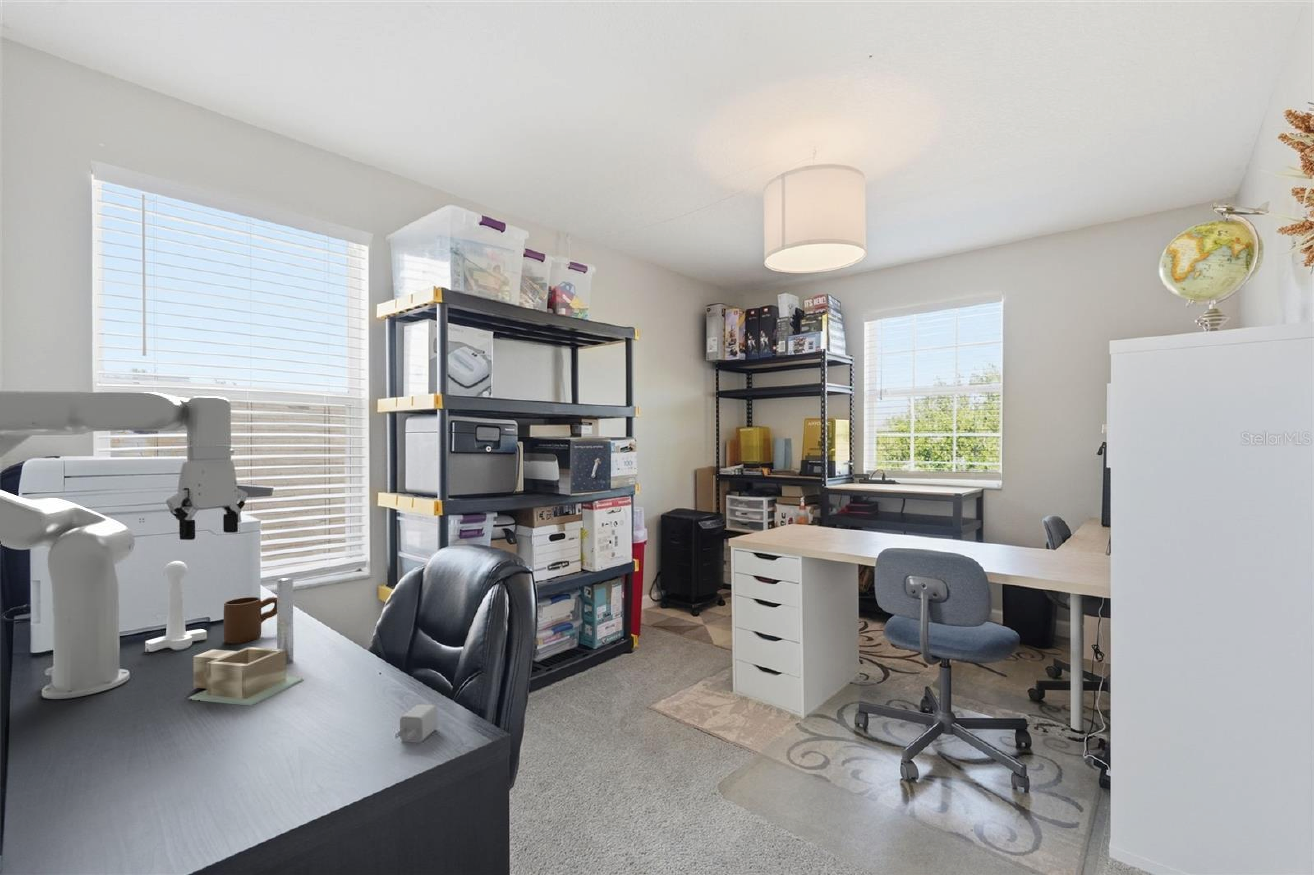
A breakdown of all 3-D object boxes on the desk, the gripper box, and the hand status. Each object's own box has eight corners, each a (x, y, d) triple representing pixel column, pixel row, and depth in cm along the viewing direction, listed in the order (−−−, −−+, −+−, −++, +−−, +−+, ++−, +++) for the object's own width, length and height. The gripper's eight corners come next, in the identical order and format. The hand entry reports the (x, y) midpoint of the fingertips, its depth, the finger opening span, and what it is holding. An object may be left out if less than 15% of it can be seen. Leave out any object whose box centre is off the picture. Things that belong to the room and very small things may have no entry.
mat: (188, 699, 112) (188, 697, 112) (245, 675, 124) (245, 673, 124) (250, 705, 109) (250, 703, 109) (303, 680, 121) (303, 678, 121)
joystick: (200, 637, 149) (199, 556, 150) (212, 642, 145) (212, 559, 145) (143, 650, 140) (142, 564, 140) (154, 656, 136) (154, 567, 136)
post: (274, 664, 130) (273, 580, 130) (285, 659, 133) (284, 577, 133) (285, 664, 130) (285, 581, 130) (296, 659, 133) (296, 578, 133)
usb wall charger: (437, 730, 99) (437, 705, 99) (413, 751, 93) (413, 725, 93) (415, 728, 100) (415, 704, 100) (390, 749, 93) (389, 723, 93)
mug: (277, 628, 156) (277, 592, 156) (285, 635, 150) (285, 597, 150) (221, 639, 147) (221, 600, 148) (226, 646, 142) (226, 606, 142)
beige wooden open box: (180, 692, 115) (180, 661, 115) (224, 674, 123) (224, 645, 123) (246, 698, 111) (246, 666, 111) (286, 680, 120) (285, 649, 120)
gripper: (231, 454, 137) (232, 529, 137) (153, 456, 120) (153, 542, 120) (259, 454, 135) (259, 530, 135) (183, 455, 118) (183, 543, 118)
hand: (209, 535), depth 127 cm, fingers open, 9 cm apart
